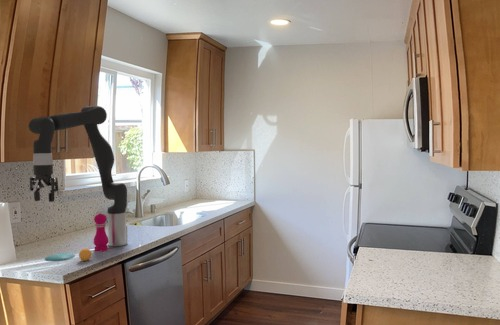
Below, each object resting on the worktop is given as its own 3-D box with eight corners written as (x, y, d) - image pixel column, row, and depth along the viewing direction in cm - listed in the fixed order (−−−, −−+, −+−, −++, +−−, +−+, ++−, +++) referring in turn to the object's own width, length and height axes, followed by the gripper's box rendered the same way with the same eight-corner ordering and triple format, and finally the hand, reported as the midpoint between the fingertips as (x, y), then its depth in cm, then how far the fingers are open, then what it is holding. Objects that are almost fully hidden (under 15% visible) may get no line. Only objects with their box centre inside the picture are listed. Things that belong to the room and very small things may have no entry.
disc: (61, 252, 205) (61, 252, 205) (80, 255, 200) (80, 254, 200) (38, 259, 193) (38, 259, 193) (58, 262, 188) (58, 261, 188)
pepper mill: (103, 247, 215) (102, 209, 214) (111, 249, 210) (110, 210, 209) (90, 250, 209) (89, 211, 208) (98, 252, 205) (97, 212, 204)
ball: (85, 258, 194) (85, 246, 194) (94, 259, 192) (94, 247, 192) (76, 261, 189) (76, 249, 189) (85, 262, 187) (85, 250, 187)
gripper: (62, 163, 178) (63, 200, 179) (38, 163, 184) (40, 199, 185) (47, 164, 171) (48, 203, 172) (23, 164, 177) (25, 201, 178)
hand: (44, 201), depth 178 cm, fingers open, 8 cm apart
